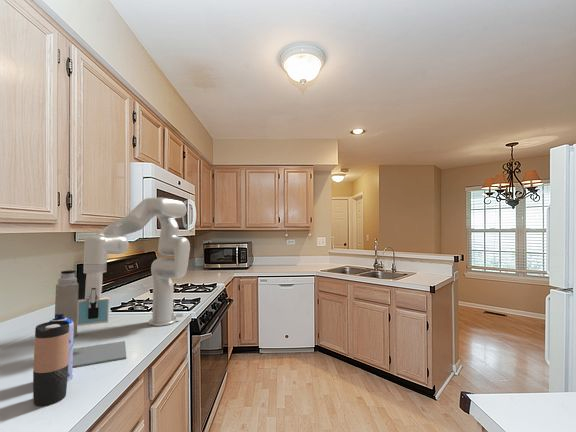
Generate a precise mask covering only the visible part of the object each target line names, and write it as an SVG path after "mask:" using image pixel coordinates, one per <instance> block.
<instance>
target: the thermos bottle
mask: <svg viewBox="0 0 576 432" xmlns="http://www.w3.org/2000/svg"><path fill="white" fill-rule="evenodd" d="M75 275H76V271H75V270H72V269H71V270H70V269H69V270H63V271H62V270H61V272H60V278H58V279H57V284H56V285H55V297H54V298H55V302H54V315H55V314H64V317H66V318H69V319H70V320H71V321H73V324H74V336H73V338H76V337H77V335H78V326H77V309H78V300H79V282H78V278H77V277H75Z"/></svg>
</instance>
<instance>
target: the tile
mask: <svg viewBox="0 0 576 432" xmlns="http://www.w3.org/2000/svg"><path fill="white" fill-rule="evenodd" d="M95 299H97V298H95ZM109 307H110V297H109V296H108V297H107V296H106V297H100V299H98V318H95V319H88V308H89V299H87V300H85V298H84V299H83V298H82V299H78V309H77V327H81V326H90V325H98V324H107V323H109V309H110V308H109Z"/></svg>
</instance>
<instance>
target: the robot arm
mask: <svg viewBox="0 0 576 432" xmlns="http://www.w3.org/2000/svg"><path fill="white" fill-rule="evenodd" d="M187 211H188V210H187V205H186V203H184V201H182V200H177V199H172V198H167V197H146V198H144V199H142V200H141V201H140V202H139V204H137V205H136V206H135V207H134V208H133V209H132V210H131V211H130V212H128V214H127V215H126V216H124V217H121V218H119V219H118V220H115V221H114V222H112V223H110V224H109V225H107V226H105V227H104V228H103V229H102V230H101V231H100V232H98V233H97V234H96V236H95V235H93V236H92V235H91V236H86V237H85V239H84V246H83V247H84V248H83V249H84V251H83V274H85V275H86V278H85V286H84V287H85V289H84V290H85V291H84V292H85V293H84V299H85V300H87V299H89V308H88V319H95V318H98V299H100V298H101V295H102V290H103V278H104V277H103V274H104V273H107V267H108V266H107V265H108V264H107V263H108V260H107V259H108V255H121V254H123V253H125V252H126V251H127V250H128V248H129V246H130V243H129V240H128V238H127V237H124V236H126V235H128V234H133V233H136V232H138V231H141V230H143V229H144V228H145V226H147V224H148V223H149V222H150V221H151V220H152V219H153V218H154V217H156V218H157V219H158V221H159V223H160V233H159V239H158V246H157V252H158V253H159V254H160V255H162V256H171V257H172V256H173V257H174V258H173V257H172V258H171V257H160V258H156V259H155V260H153V262H152V263H151V267H150V271H151V276H152V277H151V278H152V310H151V311H152V313H151V315H152V318H151V319H149V320H148V325H150V326H154V327H162V326H169V325H172V324H174V323H176V322H177V318H183V316H184V313H183V312H175V311H174V289H175V288H174V282H173V280H172V279H181V278H183V277H184V276H185V275H186V274H187V271H188V266H189V259H190V251H191V243H190V241H189V239H188V238H186V237H184V236H179V230H180V229H179V224H178V222H177V220H176V219H181V218H184V216H186V214H187ZM95 298H97V299H95Z"/></svg>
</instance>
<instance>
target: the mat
mask: <svg viewBox="0 0 576 432" xmlns="http://www.w3.org/2000/svg"><path fill="white" fill-rule="evenodd" d="M126 359H127V349H126V341H125V340H123V341H121V340H120V341H116V342H115V341H114V342H110V343H102V344H96V345H88V346H82V347H75V348H74V347H73V365H72V369H74V368H80V367H86V366H91V365H96V364H97V365H98V364H102V363H109V362H114V361H120V360H126Z"/></svg>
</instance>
